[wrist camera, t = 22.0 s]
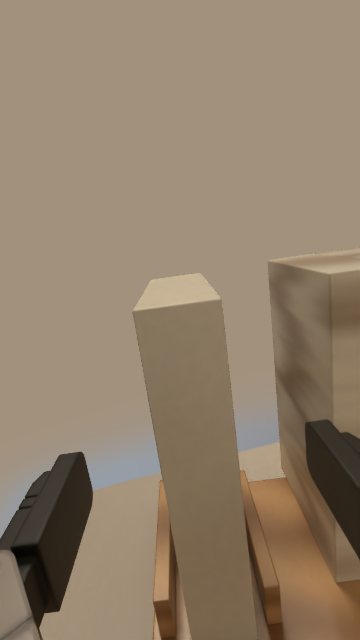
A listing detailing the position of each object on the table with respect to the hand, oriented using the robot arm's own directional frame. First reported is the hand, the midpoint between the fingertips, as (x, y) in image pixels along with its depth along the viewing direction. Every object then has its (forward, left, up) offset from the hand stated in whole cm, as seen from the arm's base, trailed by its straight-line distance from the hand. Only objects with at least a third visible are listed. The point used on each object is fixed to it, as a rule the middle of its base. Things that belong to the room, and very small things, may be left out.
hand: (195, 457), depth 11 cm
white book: (0, +6, -12) cm, 13 cm away
